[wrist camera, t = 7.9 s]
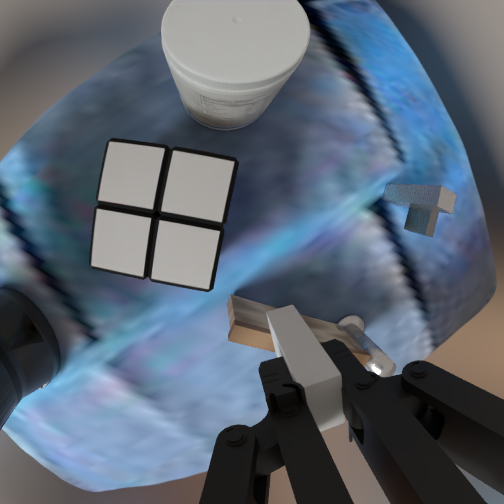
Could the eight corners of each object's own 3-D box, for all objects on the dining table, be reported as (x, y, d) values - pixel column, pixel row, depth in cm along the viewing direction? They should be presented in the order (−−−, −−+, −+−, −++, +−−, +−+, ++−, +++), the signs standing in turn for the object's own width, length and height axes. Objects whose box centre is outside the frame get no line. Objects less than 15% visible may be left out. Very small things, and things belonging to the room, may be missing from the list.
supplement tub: (177, 61, 25) (156, -20, 11) (263, 51, 26) (296, -29, 12) (186, 140, 28) (161, 96, 13) (276, 128, 29) (327, 81, 14)
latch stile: (376, 220, 32) (430, 233, 22) (386, 184, 31) (441, 185, 22) (397, 227, 33) (451, 242, 23) (405, 193, 32) (461, 197, 22)
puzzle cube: (213, 261, 31) (212, 294, 21) (123, 245, 29) (87, 269, 19) (232, 168, 29) (240, 157, 19) (139, 153, 27) (106, 137, 18)
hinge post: (327, 343, 35) (361, 388, 25) (339, 312, 34) (379, 352, 24) (355, 346, 35) (392, 388, 26) (367, 317, 35) (410, 354, 25)
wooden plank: (341, 323, 34) (370, 355, 26) (335, 334, 34) (363, 368, 26) (229, 292, 31) (234, 324, 23) (224, 305, 31) (228, 340, 24)
